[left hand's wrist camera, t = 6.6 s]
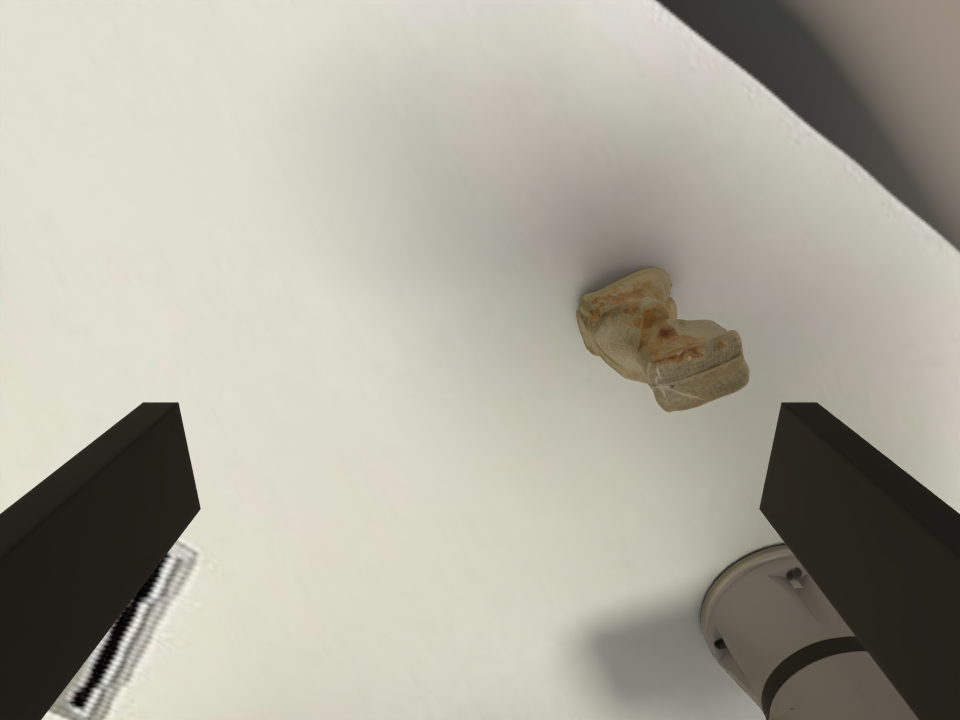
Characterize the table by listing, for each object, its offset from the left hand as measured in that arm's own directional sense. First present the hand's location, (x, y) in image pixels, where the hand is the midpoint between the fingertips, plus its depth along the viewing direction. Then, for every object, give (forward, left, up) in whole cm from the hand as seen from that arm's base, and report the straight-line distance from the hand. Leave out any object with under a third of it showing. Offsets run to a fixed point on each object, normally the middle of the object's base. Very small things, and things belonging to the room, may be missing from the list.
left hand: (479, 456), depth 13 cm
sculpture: (-12, -2, -31) cm, 33 cm away
